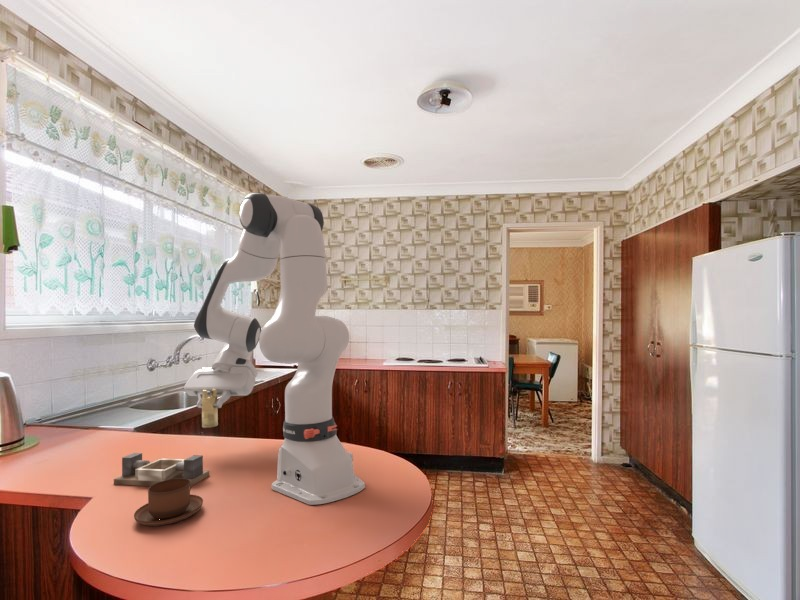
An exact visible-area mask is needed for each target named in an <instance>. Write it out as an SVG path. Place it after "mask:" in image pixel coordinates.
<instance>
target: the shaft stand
mask: <svg viewBox="0 0 800 600" xmlns="http://www.w3.org/2000/svg"><path fill="white" fill-rule="evenodd" d="M203 457H204V456H203V455H202V454H201V455H198V454H193V455H191V456H189V457H187V458H185V459H184V458H183V459H182V458H159V459H156V460H154V461H152V462H151V461H150V460H144V459H143V452H139V453H138V452H133V453H131V454H127V455H125V456H122V458H121V475H120V476H117V477H115V478H114V479H113V485H118V486H119V485H121V486H137V487H138V486H139V487H141V486H142V487H143V486H144V487H150V486H152V485H154V484H156V483H158V482H161V481H165V480H169V479H177V478H184V479H188V480H190V487H192V486H194V485H195V484H197V483H200V481H202V480H204V479H206V478H208V477H209V476H210V470H209V469H208V470H207V469H206V470H205V469H204V458H203Z"/></svg>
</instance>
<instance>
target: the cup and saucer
mask: <svg viewBox="0 0 800 600" xmlns="http://www.w3.org/2000/svg"><path fill="white" fill-rule="evenodd" d="M147 497H148V498H147V500H148V502H147V503H145V504H143V505H141V506H140V507H138V509H136V511H135V512H134V513H133V519H134V520H135V521H136V523H139V524H141V525H144V526H151V527H159V526H167V525H171V524H174V523H177V522H180V521H183V520H185V519H188V518H190V517H191V516H193V515H194V514H196V513H197V512H198V511H199V510H200V509H201V508H202V507H203V503H204V499H203V498H202V497H201V496H199V495H196V494H191V486H190V480H188V479H184V478H177V479H169V480H165V481H161V482H158V483H156V484H154V485H152V486H148V489H147ZM159 519H160V520H159Z"/></svg>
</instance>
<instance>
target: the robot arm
mask: <svg viewBox="0 0 800 600" xmlns="http://www.w3.org/2000/svg"><path fill="white" fill-rule="evenodd" d="M238 216H239V223H240V225H241V226H242V228H243V231H242V234H241V237H240V239H239V244H238V248H237V250H236V252H235V254H234V255H233V256H232V257H230V258H225V260H224V261H223V262H222V263H221V264H220V266H219V268H218V270H217V272H216V274H215V276H214V279H213V281H212V283H211V285H210V287H209V290H208V292H207V295H206V297H205V299H204V302H203V304H202V306H201V308H200V310H199V311H198V313H197V315H196V317H195V319H194V324H193V328H194V329H195V333H197V335H198V336H199V337H200V338H201V339H206V340H207V339H208V340H214V341H219V342H221V343H224V344H223V347H222V349H221V350H220V351H219V353H218V354H217V356H216V358H215V360H213V363H212V365H211V367H201V368H199V369H197V370H196V371H194V372H193V373H192V374H191V376H190V377H189V378H188V380H187V381H186V383H185V384H184V386H183V390H184V391H185V393H186V394H187V395H188V396H189V397H197V398H198V400H197V403H196V404H195V405H196V407H197V408H198V409H202V390H207V392H209V391H211V389H216V394H217V397H219V398H217V400H215V403H214V406H215V408H218V409H221V408H222V406H223V404H224V403H226V401H229V400H230V398H231V397H233V396H234V397H235V396H236V397H237V396H242V397H243V396H249V395H250V394H251V393H252V391H253V389H254V387H255V384H256V377H257V376H258V371H257V369H256V367H255V365H254V364H253V362H251V360H250V359H249V358H250V357H251V355H252V354H253V352H254V350H255V349H256V348H257V346H258V345H259V349H260V351H261V353H262V355H263V357H264V358H265V359H266V360H267V361H269V362H272V363H277V364H285V365H292V364H298V366H297V369H296V372H295V373H294V376H293V377H292V379H291V380H290V381H288V383H287V384H286V386H285V389H284V412H285V413H284V420H283V426H282V432H283V438H284V440H283V442H282V444H281V446H279V449H278V455H277V468H276V471H277V472H276V480H274V481H273V482H272V483H271V490H273V491H275V492H277V493H280V494H283V495H285V496H287V497H290V498H292V499H295V500H297V501H300V502H302V503H305V504H307V505H310V506H315V505H322V504H329V503H333V502H335V501H339V500H343V499H346V498H349V497H351V496H353V495H356V494H358V493H359V492H361V491H363V490H364V489H366V483H365V482H364V480H362V479H361V478H360V477H359V476H357V475H356V474H355V473H354V472H355V471H354V463H353V461H354V456H353V453H352V452H351V451H350V452H347V450H346V448H345V447H344V444H342V442H341V441H340V439H339V438H338V436H337V431H338V428H337V427H338V425H337V424H336V422H335V418H334V416H333V381H334V377H335V372H336V369H337V366H338V363H339V360H340V358H341V356H342V354H343V353H344V351H345V350H346V348H347V347H348V344H349V341H350V332H349V329H348V327H347V325H346V324H345V323H344V322H343V321H342V320H341V319H338V318H335V317H332V316H327V315H316V312H317V306H318V303H319V301H320V299H321V298H322V297H323V296H324V295H325V294H326V292H327V291H328V277H327V276H328V275H327V273H328V272H327V260H326V259H327V256H326V248H325V241H324V236H323V229H324V216H323V212H322V210H321V209H320V208H319V207H317V206H316V205H314V204H312V203H310V202H303V201H300V200H296V199H294V198H289V197H287V196H282V195H275V194H265V193H263V192H253V193H249V194H247V195H246V196H245V197H244V198H243V199H242V201H241V204H240V207H239V215H238ZM278 260H279V267H280V269H279V270H280V272H279V274H280V290H279V291H280V292H279V297H278V298H279V299H278V302H277V304H276V307H275V311H274V313H273V314H272V315H271V318H270V319H269V320H268V321H267V322H266V323H265V324H264V325H263V327H261V324H260V322H259V321H258V319H257V318H255V317H253V316H250V315H246V314H244V313H239V312H236V311H233V310H230V309H229V310H228V309H226V308H223V306H222V305H221V304H222V302H223V299H224V297H225V294H226V293H227V291H228V288H229V285H231V284H234V283H241V282H242V283H244V282H257V281H260V280H265V279H266V278H267V277H269V276H271V275H272V274H273V272H274V271H275V268H276V267H277V264H278ZM207 396H212V394H207Z"/></svg>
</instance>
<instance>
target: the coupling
mask: <svg viewBox="0 0 800 600" xmlns="http://www.w3.org/2000/svg"><path fill="white" fill-rule="evenodd" d="M207 394H212V396H207ZM217 399H218V396H217V394H216V389H211V391H209V392H207V390H202V408H201V427H202V428H203V429H207V428H214V427H217V426H218V425H219V422H218V420H219V417H218V416H219V415H218V414H219V413H218V410H219V408H215V406H214V403H215V400H217Z"/></svg>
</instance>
